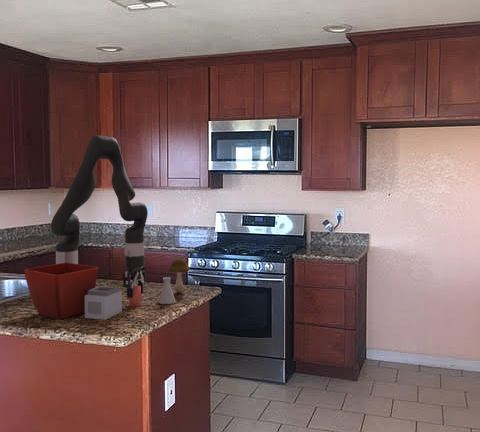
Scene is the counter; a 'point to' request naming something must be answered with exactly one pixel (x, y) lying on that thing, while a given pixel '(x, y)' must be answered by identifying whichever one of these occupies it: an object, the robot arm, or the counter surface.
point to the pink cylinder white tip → (135, 296)
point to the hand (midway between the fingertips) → (135, 295)
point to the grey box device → (103, 302)
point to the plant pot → (60, 288)
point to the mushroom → (179, 273)
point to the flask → (166, 293)
